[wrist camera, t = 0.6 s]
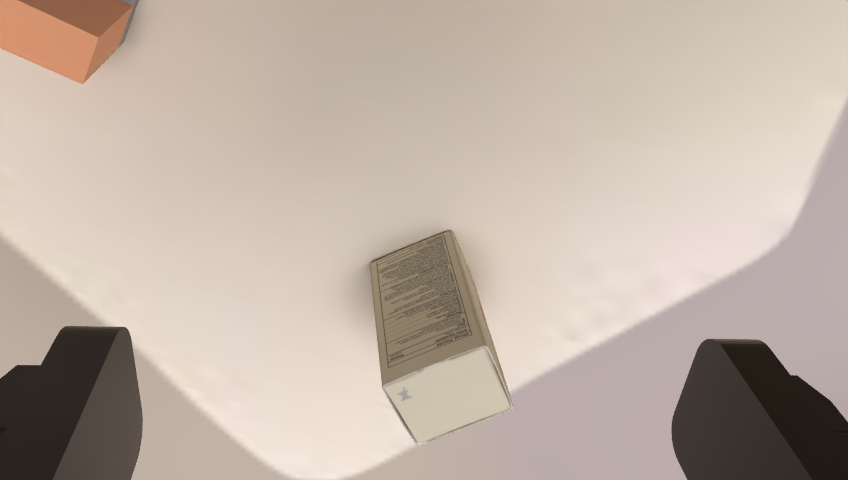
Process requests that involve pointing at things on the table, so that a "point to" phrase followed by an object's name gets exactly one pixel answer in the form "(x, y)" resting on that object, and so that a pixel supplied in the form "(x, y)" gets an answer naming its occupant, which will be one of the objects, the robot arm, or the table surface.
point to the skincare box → (435, 341)
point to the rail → (65, 32)
